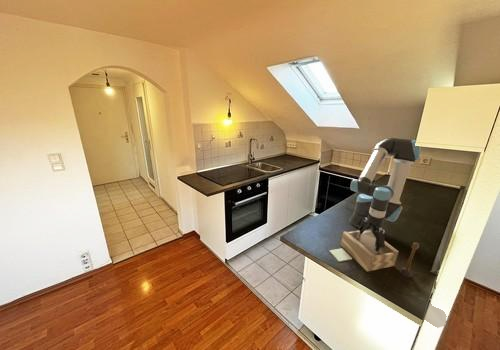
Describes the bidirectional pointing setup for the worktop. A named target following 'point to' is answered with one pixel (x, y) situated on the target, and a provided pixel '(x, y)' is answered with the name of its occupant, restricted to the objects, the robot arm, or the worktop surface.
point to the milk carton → (368, 239)
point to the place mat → (340, 254)
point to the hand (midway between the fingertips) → (367, 248)
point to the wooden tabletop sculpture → (409, 262)
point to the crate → (368, 252)
